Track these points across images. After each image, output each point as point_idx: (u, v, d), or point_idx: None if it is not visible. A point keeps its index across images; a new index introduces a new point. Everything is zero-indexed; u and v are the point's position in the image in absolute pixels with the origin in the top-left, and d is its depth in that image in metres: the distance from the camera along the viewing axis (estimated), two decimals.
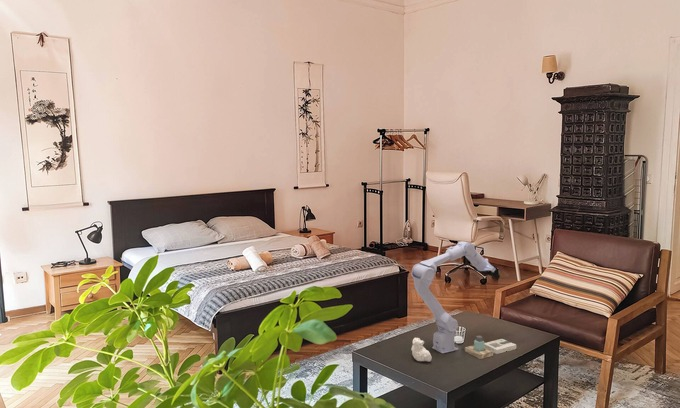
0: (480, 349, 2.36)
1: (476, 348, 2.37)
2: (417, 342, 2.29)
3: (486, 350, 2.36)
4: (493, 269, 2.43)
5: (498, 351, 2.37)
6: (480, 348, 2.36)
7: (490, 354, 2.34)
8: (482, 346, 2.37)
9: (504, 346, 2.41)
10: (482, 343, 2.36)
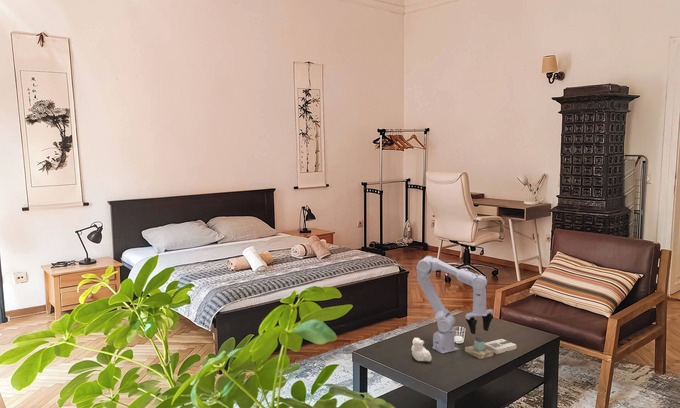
0: (480, 349, 2.36)
1: (476, 348, 2.37)
2: (417, 342, 2.29)
3: (486, 350, 2.36)
4: (467, 316, 2.33)
5: (498, 351, 2.37)
6: (480, 348, 2.36)
7: (490, 354, 2.34)
8: (482, 346, 2.37)
9: (504, 346, 2.41)
10: (482, 343, 2.36)
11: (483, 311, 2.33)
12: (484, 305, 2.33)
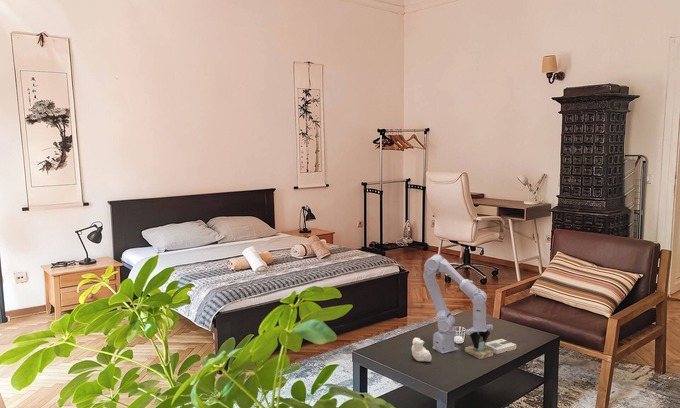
0: (480, 349, 2.36)
1: None
2: (417, 342, 2.29)
3: (486, 350, 2.36)
4: (466, 332, 2.34)
5: (498, 351, 2.37)
6: (480, 348, 2.36)
7: (490, 354, 2.34)
8: (482, 346, 2.37)
9: (504, 346, 2.41)
10: (482, 343, 2.36)
11: (483, 327, 2.34)
12: (484, 321, 2.34)
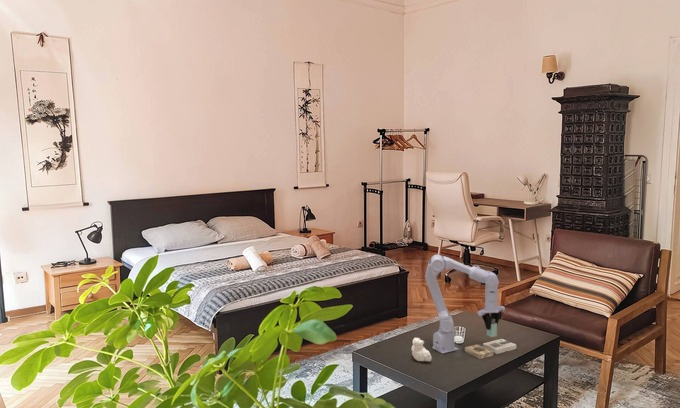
0: (493, 331, 2.38)
1: (489, 330, 2.39)
2: (417, 342, 2.29)
3: (486, 350, 2.36)
4: (479, 313, 2.36)
5: (498, 351, 2.37)
6: (492, 330, 2.38)
7: (490, 354, 2.34)
8: (494, 328, 2.39)
9: (504, 346, 2.41)
10: (494, 325, 2.38)
11: (495, 308, 2.36)
12: (496, 302, 2.36)
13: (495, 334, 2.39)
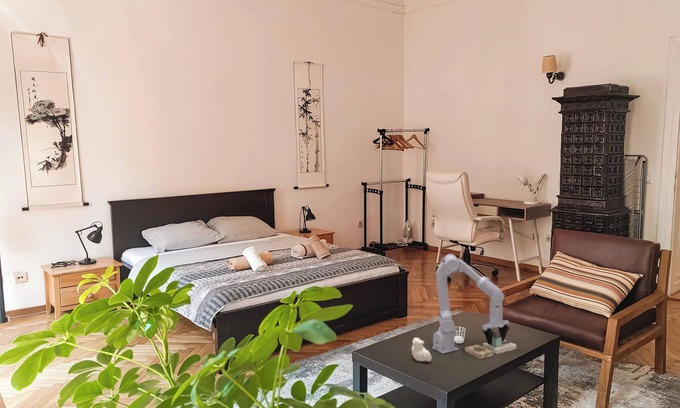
0: (497, 345, 2.40)
1: (493, 344, 2.41)
2: (417, 342, 2.29)
3: (486, 350, 2.36)
4: (484, 327, 2.38)
5: (498, 351, 2.37)
6: (497, 344, 2.40)
7: (490, 354, 2.34)
8: (499, 342, 2.41)
9: (504, 346, 2.41)
10: (499, 339, 2.41)
11: (500, 322, 2.39)
12: (501, 316, 2.39)
13: None
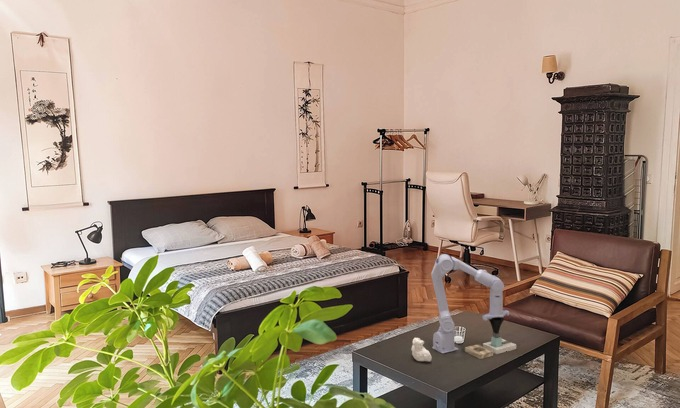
0: (497, 345, 2.40)
1: (493, 344, 2.41)
2: (417, 342, 2.29)
3: (486, 350, 2.36)
4: (484, 317, 2.38)
5: (498, 351, 2.37)
6: (497, 344, 2.40)
7: (490, 354, 2.34)
8: (499, 342, 2.41)
9: (504, 346, 2.41)
10: (499, 339, 2.41)
11: (500, 312, 2.38)
12: (501, 306, 2.38)
13: None
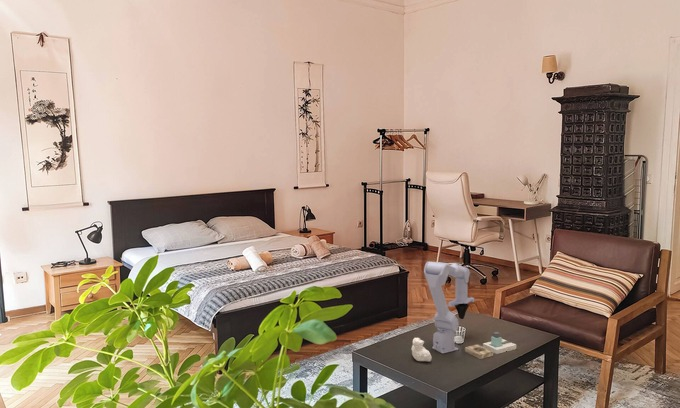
0: (497, 345, 2.40)
1: (493, 344, 2.41)
2: (417, 342, 2.29)
3: (486, 350, 2.36)
4: (449, 304, 2.51)
5: (498, 351, 2.37)
6: (497, 344, 2.40)
7: (490, 354, 2.34)
8: (499, 342, 2.41)
9: (504, 346, 2.41)
10: (499, 339, 2.41)
11: (465, 299, 2.52)
12: (465, 293, 2.52)
13: None
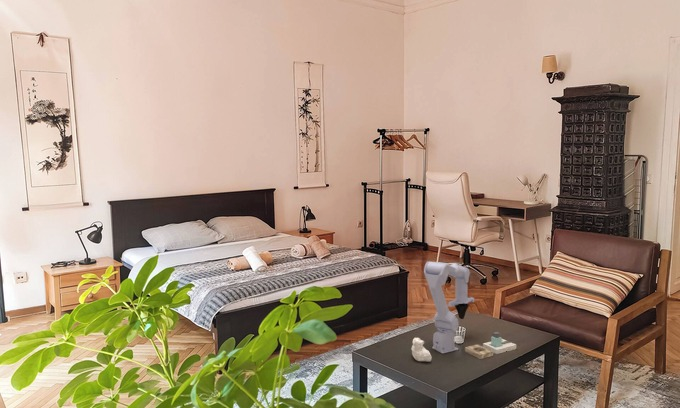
0: (497, 345, 2.40)
1: (493, 344, 2.41)
2: (417, 342, 2.29)
3: (486, 350, 2.36)
4: (449, 304, 2.51)
5: (498, 351, 2.37)
6: (497, 344, 2.40)
7: (490, 354, 2.34)
8: (499, 342, 2.41)
9: (504, 346, 2.41)
10: (499, 339, 2.41)
11: (465, 299, 2.52)
12: (465, 293, 2.52)
13: None
